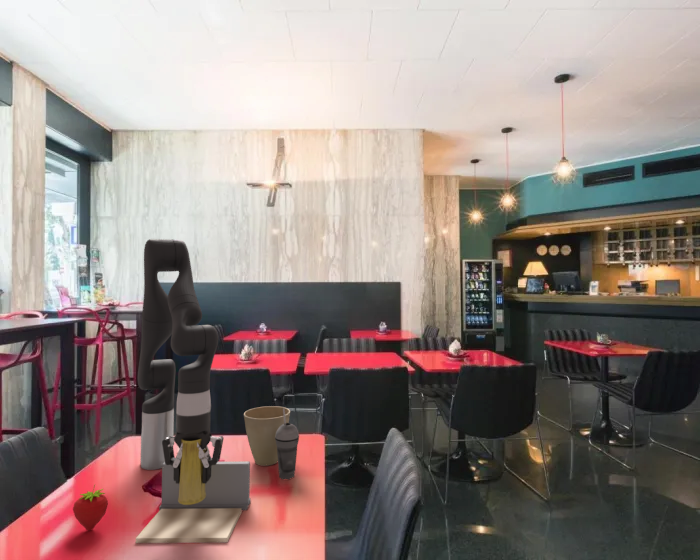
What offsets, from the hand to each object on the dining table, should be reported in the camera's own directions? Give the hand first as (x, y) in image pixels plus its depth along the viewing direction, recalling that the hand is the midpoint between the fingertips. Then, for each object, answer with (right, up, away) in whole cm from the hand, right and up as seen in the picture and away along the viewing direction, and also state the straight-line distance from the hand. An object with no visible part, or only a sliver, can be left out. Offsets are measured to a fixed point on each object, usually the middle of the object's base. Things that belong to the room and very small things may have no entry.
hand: (192, 481), depth 93 cm
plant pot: (+10, -12, +36) cm, 39 cm away
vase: (0, -4, 0) cm, 4 cm away
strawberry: (-23, -10, -2) cm, 25 cm away
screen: (0, -11, +8) cm, 14 cm away
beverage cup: (+18, -12, +25) cm, 33 cm away
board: (0, -10, 0) cm, 10 cm away
